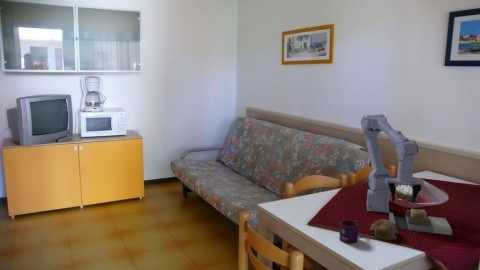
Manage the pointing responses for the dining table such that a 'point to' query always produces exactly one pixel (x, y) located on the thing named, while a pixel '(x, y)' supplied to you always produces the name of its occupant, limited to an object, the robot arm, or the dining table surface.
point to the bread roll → (384, 229)
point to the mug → (349, 231)
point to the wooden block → (418, 213)
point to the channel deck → (422, 223)
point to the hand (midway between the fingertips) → (402, 201)
